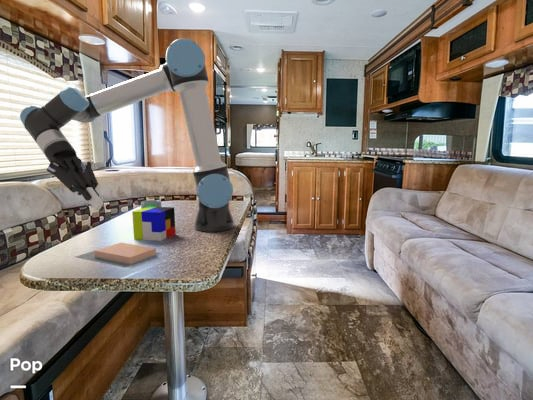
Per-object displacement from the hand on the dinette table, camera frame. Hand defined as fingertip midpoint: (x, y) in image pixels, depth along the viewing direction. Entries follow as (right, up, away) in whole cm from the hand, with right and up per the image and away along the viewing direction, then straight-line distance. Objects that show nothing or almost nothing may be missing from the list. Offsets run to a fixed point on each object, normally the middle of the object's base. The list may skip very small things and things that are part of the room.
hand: (99, 207), depth 95 cm
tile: (+2, -12, +1) cm, 13 cm away
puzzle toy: (+9, -11, +20) cm, 25 cm away
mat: (+6, -14, -1) cm, 15 cm away
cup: (+2, -9, +38) cm, 39 cm away
